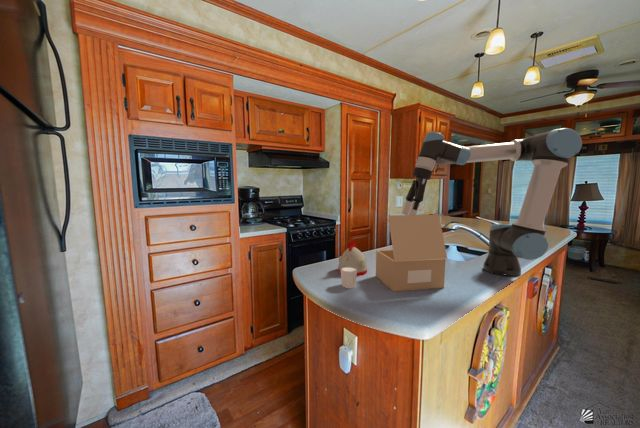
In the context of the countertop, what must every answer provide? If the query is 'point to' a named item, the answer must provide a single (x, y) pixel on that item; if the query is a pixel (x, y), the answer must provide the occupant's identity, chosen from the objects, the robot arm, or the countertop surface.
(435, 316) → the countertop surface
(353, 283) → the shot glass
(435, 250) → the carton lid
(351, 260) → the kitchen timer
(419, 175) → the robot arm
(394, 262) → the carton
